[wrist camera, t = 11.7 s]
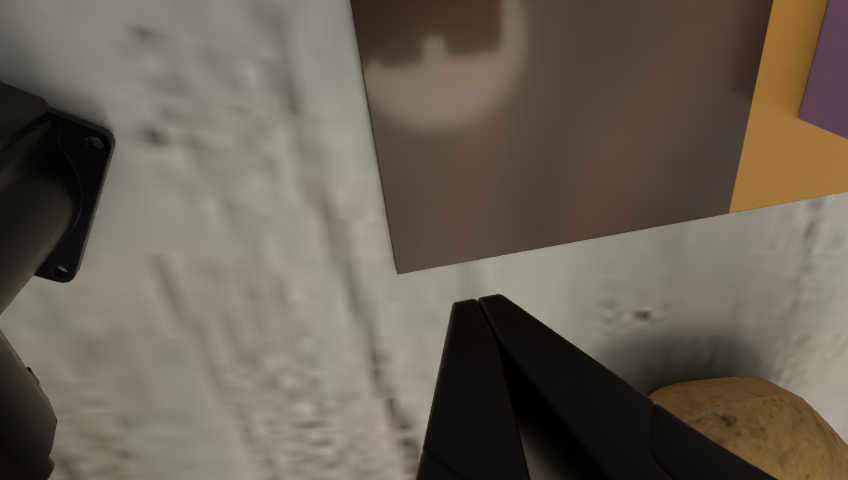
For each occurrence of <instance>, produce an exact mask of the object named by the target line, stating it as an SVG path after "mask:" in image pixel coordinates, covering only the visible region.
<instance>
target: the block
mask: <svg viewBox="0 0 848 480" xmlns="http://www.w3.org/2000/svg"><path fill="white" fill-rule="evenodd" d="M798 119H800V120H802V121H805V122H807V123H809V124H812V125H814V126H817V127H819V128H821V129H824V130H826V131H828V132H831V133H833V134H836V135H838V136H840V137H843V138H845V139H848V0H829V2H828V5H827V9H826V13H825V17H824V21H823V24H822V28H821V32H820V36H819V40H818V44H817V47H816V51H815V55H814V59H813V63H812V67H811V70H810V74H809V78H808V82H807V86H806V90H805V93H804V97H803V101H802V105H801V109H800V113H799V116H798Z"/></svg>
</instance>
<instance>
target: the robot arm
mask: <svg viewBox="0 0 848 480" xmlns="http://www.w3.org/2000/svg"><path fill="white" fill-rule="evenodd" d="M91 137H97V138H99V139H100V140H101V141H102V143H103V147H97V146H96V145H94V144H93V143H92V141H91ZM114 148H115V139H114V136H113V135H112V133H111V132H110V131H109V130H107V129H105V128H104V127H101V126H99V125H96V124H94V123H91V122H88V121H86V120H83V119H81V118H78V117H75V116H73V115H70V114H68V113H65V112H62V111H60V110H57V109H55V108H52V107H51V106H50V105H49V104H48V103H47V102H46V101H45V100H44V99H43V98H41V97H38V96H36V95H33V94H31V93H28V92H25V91H23V90H20V89H18V88H15V87H13V86H10V85H7V84H5V83H2V82H0V315H1V314H2V312H3V311H4V310H5V309H6V308H7V306H8V305H9V304H10V303H11V302H12V300H13V299H14V298H15V297H16V295H17V294H18V293H19V292H20V291H21V289H22V288H23V287H24V286H25V285H26V283H27V282H28V281H29V280H30V279H31V277H32V276H33V275H34V276H38V277H41V278H45V279H48V280H52V281H56V282H61V283H65V282H69V281H71V280H73V279H74V277H75V276H76V274H77V273H78V271H79V269H80V265H81V262H82V259H83V255H84V252H85V248H86V245H87V241H88V238H89V234H90V231H91V227H92V224H93V220H94V217H95V213H96V210H97V207H98V203H99V200H100V196H101V193H102V189H103V186H104V182H105V179H106V175H107V172H108V168H109V165H110V162H111V158H112V155H113V151H114ZM57 266H62V267H64V268H66V270H67V271H62V270H60V269H59V268H58V267H57ZM56 424H57V419H56V416H55V414H54V411H53V409H52V406H51V404H50V401H49V399H48V398H47V396H46V395H45V394H44V392H43V391H42V389H41V388H40V386H39V380H38V379H37V377H36V376H35V375H34V373H33V372H32V370H31V369H30V368H29V367H26V366H25V365H24V363H23V362H22V360H21V359H20V357H19V356H18V354H17V353H16V352H15V350H14V349H13V347H12V346H11V344H10V343H9V341H8V340H7V339H6V337H5V336H4V334H3V333H2V331H1V330H0V480H48V478H49V476H50V475H51V473H52V471H53V469H54V465H55V464H54V462H53V460H52V459H51V458H50V456H49V455H50V452H51V450H52V446H53V440H54V435H55V430H56ZM416 480H779V479H777V478H775V477H773V476H772V475H770V474H768V473H766V472H765V471H763V470H761V469H760V468H758V467H756V466H754V465H753V464H751V463H749V462H748V461H746V460H744V459H743V458H741V457H739V456H738V455H736V454H734V453H733V452H731V451H729V450H728V449H726V448H724V447H723V446H721V445H719V444H718V443H716V442H714V441H713V440H711V439H710V438H708V437H707V436H705V435H704V434H702V433H701V432H699V431H698V430H696V429H695V428H693V427H692V426H690V425H689V424H687V423H685V422H684V421H682V420H681V419H679V418H678V417H677V416H675V415H674V414H672V413H671V412H669V411H668V410H667V409H665V408H664V407H662V406H661V405H659V404H654V401H653V400H652V399H650V398H649V397H648V396H646V395H645V394H643V393H642V392H640V391H639V390H638V389H636V388H635V387H633V386H632V385H630V384H629V383H628V382H626V381H625V380H623V379H622V378H620V377H619V376H617V375H616V374H615V373H613V372H612V371H610V370H609V369H607V368H606V367H605V366H603V365H602V364H600V363H599V362H597V361H596V360H595V359H593V358H592V357H590V356H589V355H587V354H586V353H585V352H583V351H582V350H580V349H579V348H577V347H576V346H575V345H573V344H572V343H570V342H569V341H567V340H566V339H565V338H563V337H562V336H560V335H559V334H557V333H556V332H554V331H553V330H552V329H550V328H549V327H547V326H546V325H544V324H543V323H542V322H540V321H539V320H537V319H536V318H534V317H533V316H532V315H530V314H529V313H527V312H526V311H524V310H523V309H522V308H520V307H519V306H517V305H516V304H514V303H513V302H512V301H510V300H509V299H507V298H506V297H504V296H503V295H500V294H496V295H491V296H485V297H481V298H479V299H478V301H477V300H475V299H469V300H464V301H459V302H455V303H454V304H453V305H452V310H451V314H450V319H449V324H448V329H447V334H446V339H445V343H444V348H443V353H442V358H441V363H440V368H439V372H438V377H437V382H436V387H435V392H434V397H433V401H432V406H431V411H430V416H429V421H428V426H427V430H426V435H425V440H424V445H423V453H422V454H421V458H420V463H419V467H418V472H417V477H416Z"/></svg>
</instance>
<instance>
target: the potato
mask: <svg viewBox="0 0 848 480" xmlns="http://www.w3.org/2000/svg"><path fill="white" fill-rule="evenodd" d="M648 397H649V398H650V399H652V400H653V401H654V404H659V405H661V406H662V407H664V408H665V409H667V410H668V411H669V412H671V413H672V414H674V415H675V416H677V417H678V418H679V419H681V420H682V421H684V422H685V423H687V424H689V425H690V426H692V427H693V428H695V429H696V430H698V431H699V432H701V433H702V434H704V435H705V436H707V437H708V438H710V439H711V440H713V441H714V442H716V443H718V444H719V445H721V446H723V447H724V448H726V449H728V450H729V451H731V452H733V453H734V454H736V455H738V456H739V457H741V458H743V459H744V460H746V461H748V462H749V463H751V464H753V465H754V466H756V467H758V468H760V469H761V470H763V471H765V472H766V473H768V474H770V475H772V476H773V477H775V478H777V479H779V480H848V445H847V444H846V443H845V442H844V441H843V440H842V438H841V437H840V436H839V435H838V434H837V433H836V432H835V431H834V429H833V428H832V427H831V426H830V425H829V424H828V423H827V422H826V421H825V420H824V419H823V418H822V417H821V416H820V415H819V414H818V413H817V412H816V411H815V410H814V409H813V408H812V407H811V406H810V405H809V404H808V403H807V402H806V401H805V400H804V399H803V398H801V397H799V396H797V395H795V394H793V393H791V392H789V391H787V390H785V389H783V388H781V387H779V386H777V385H775V384H773V383H771V382H769V381H767V380H765V379H763V378H761V377H754V376H736V377H724V378H713V379H701V380H691V381H686V382H680V383H676V384H672V385H669V386H665V387H662V388H660V389H658V390H657V391H655V392H654V393H652V394H650V395H649V396H648Z"/></svg>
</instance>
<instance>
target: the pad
mask: <svg viewBox="0 0 848 480" xmlns="http://www.w3.org/2000/svg"><path fill="white" fill-rule="evenodd" d="M828 2H829V0H773V4H772V9H771V14H770V18H769V23H768V28H767V33H766V38H765V42H764V47H763V52H762V57H761V61H760V66H759V71H758V76H757V80H756V85H755V90H754V95H753V100H752V104H751V109H750V114H749V119H748V123H747V128H746V133H745V138H744V142H743V147H742V152H741V157H740V161H739V166H738V171H737V176H736V181H735V185H734V190H733V195H732V200H731V204H730V209H729V213H734V212H739V211H745V210H750V209H756V208H761V207H766V206H772V205H777V204H783V203H788V202H794V201H799V200H804V199H810V198H815V197H821V196H826V195H832V194H837V193H842V192H848V139H845V138H843V137H840V136H838V135H836V134H833V133H831V132H828V131H826V130H824V129H821V128H819V127H817V126H814V125H812V124H809V123H807V122H805V121H802V120H800V119H798V116H799V113H800V109H801V105H802V101H803V97H804V93H805V90H806V86H807V82H808V78H809V74H810V70H811V67H812V63H813V59H814V55H815V51H816V47H817V44H818V40H819V36H820V32H821V28H822V24H823V21H824V17H825V13H826V9H827V5H828Z"/></svg>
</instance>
